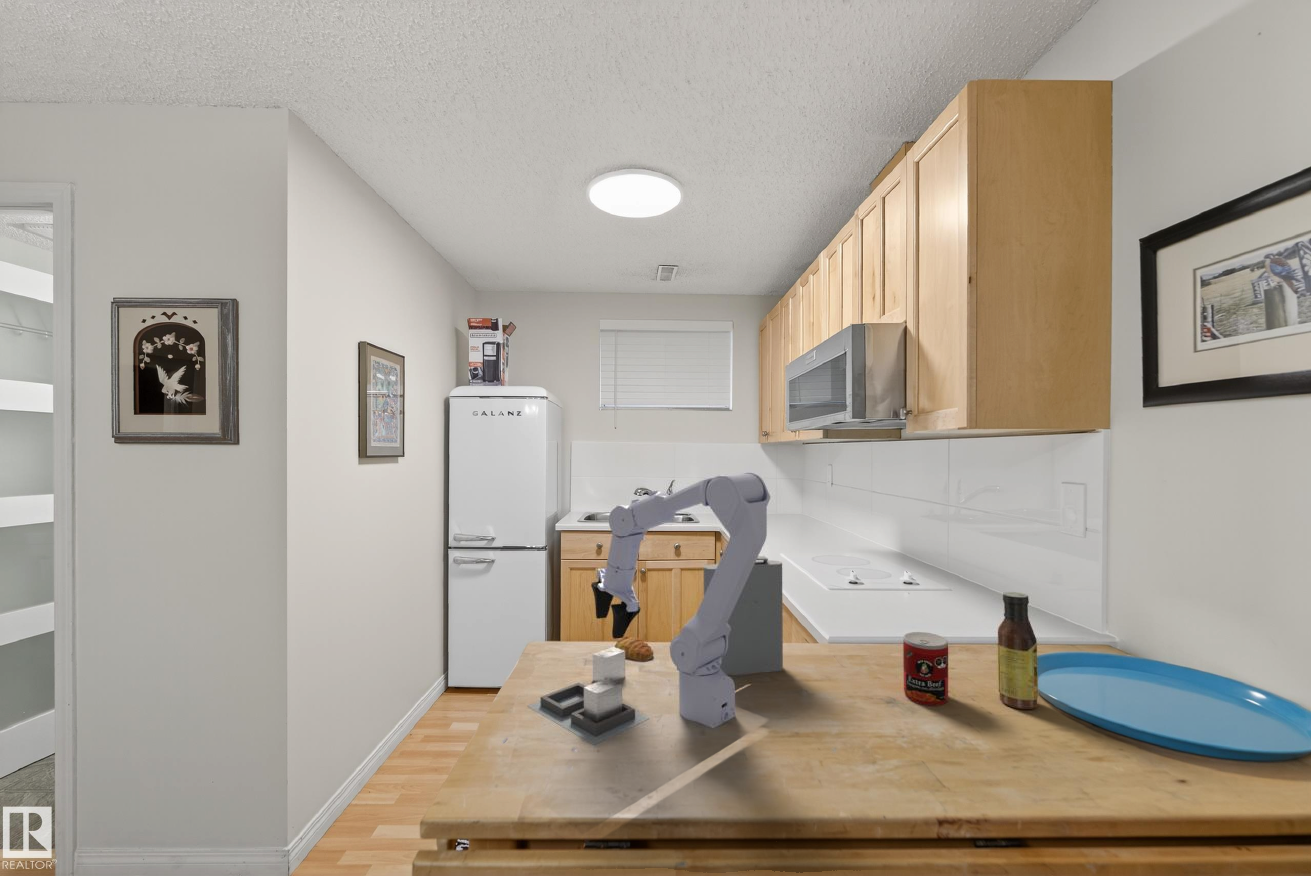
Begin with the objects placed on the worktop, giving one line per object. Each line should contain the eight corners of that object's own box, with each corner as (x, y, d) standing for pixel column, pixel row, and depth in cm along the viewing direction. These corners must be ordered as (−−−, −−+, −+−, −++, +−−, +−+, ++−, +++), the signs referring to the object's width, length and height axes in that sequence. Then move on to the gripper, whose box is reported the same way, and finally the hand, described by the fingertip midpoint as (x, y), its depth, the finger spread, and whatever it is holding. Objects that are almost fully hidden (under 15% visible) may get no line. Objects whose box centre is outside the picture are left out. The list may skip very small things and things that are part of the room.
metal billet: (625, 680, 118) (625, 650, 118) (604, 689, 114) (604, 658, 114) (613, 675, 120) (613, 646, 120) (592, 684, 117) (592, 653, 117)
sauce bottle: (1044, 712, 104) (1044, 600, 104) (1005, 709, 106) (1005, 598, 105) (1028, 696, 111) (1028, 590, 111) (992, 693, 112) (992, 589, 112)
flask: (775, 662, 128) (774, 547, 128) (785, 670, 124) (784, 551, 124) (700, 671, 123) (699, 552, 123) (708, 680, 119) (707, 556, 119)
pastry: (661, 658, 132) (660, 641, 132) (639, 667, 127) (639, 649, 127) (632, 647, 138) (631, 631, 138) (610, 656, 133) (610, 639, 133)
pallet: (649, 725, 101) (649, 708, 101) (594, 752, 92) (594, 734, 92) (580, 691, 114) (580, 677, 114) (527, 712, 106) (527, 696, 106)
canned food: (901, 701, 109) (901, 641, 109) (905, 684, 116) (905, 629, 116) (947, 709, 106) (947, 648, 106) (949, 692, 113) (948, 635, 113)
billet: (622, 718, 101) (622, 683, 101) (597, 729, 97) (597, 693, 97) (608, 711, 103) (608, 677, 103) (584, 722, 99) (583, 687, 99)
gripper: (588, 549, 119) (576, 610, 122) (620, 581, 107) (607, 649, 109) (618, 548, 123) (607, 608, 125) (653, 579, 111) (639, 644, 113)
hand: (609, 627), depth 118 cm, fingers open, 7 cm apart
